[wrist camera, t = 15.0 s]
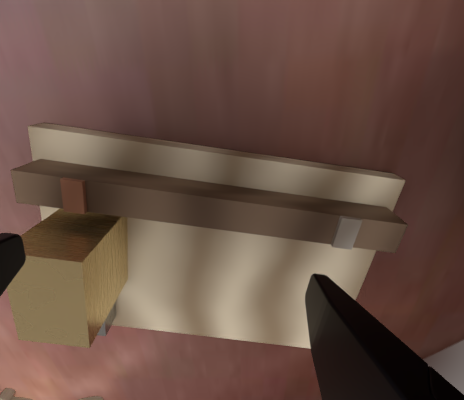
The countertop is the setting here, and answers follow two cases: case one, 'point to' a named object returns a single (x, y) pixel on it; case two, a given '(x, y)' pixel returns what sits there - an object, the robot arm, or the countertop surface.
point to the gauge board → (217, 256)
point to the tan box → (70, 278)
